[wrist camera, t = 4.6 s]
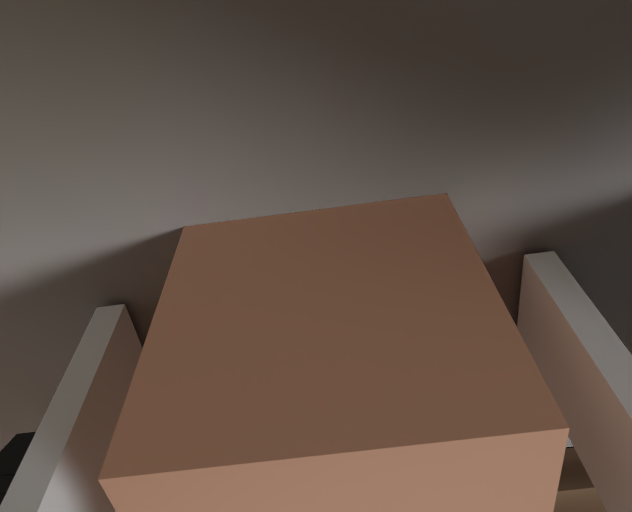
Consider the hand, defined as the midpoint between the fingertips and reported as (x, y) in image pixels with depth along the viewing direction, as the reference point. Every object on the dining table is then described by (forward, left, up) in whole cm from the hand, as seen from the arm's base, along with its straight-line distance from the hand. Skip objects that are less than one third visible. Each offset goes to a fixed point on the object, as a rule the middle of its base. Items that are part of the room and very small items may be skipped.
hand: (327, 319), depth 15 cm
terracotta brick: (0, 0, 0) cm, 0 cm away
